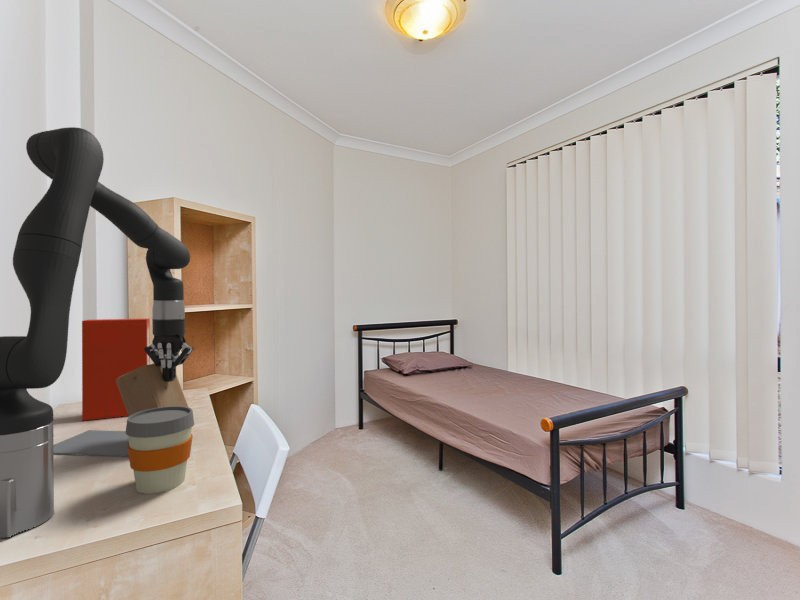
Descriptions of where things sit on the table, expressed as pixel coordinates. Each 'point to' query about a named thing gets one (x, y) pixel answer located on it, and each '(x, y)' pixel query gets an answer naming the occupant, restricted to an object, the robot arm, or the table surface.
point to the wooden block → (149, 390)
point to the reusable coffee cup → (159, 447)
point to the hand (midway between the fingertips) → (169, 381)
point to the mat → (94, 444)
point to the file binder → (110, 362)
